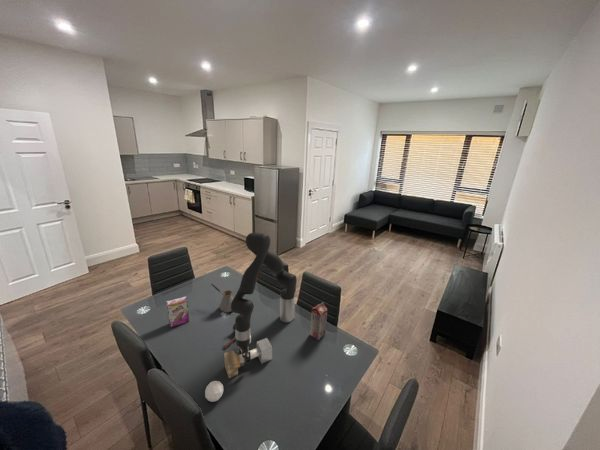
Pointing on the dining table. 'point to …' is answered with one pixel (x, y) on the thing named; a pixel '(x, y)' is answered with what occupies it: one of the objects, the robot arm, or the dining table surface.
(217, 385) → the geometric ball
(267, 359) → the grey block
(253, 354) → the tube
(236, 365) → the socket
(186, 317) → the candy bar box
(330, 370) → the dining table surface
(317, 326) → the juice carton
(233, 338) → the coffee pot
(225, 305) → the coffee pot
